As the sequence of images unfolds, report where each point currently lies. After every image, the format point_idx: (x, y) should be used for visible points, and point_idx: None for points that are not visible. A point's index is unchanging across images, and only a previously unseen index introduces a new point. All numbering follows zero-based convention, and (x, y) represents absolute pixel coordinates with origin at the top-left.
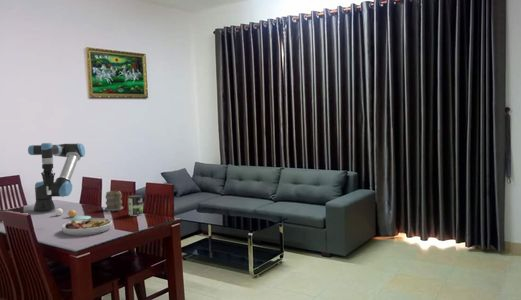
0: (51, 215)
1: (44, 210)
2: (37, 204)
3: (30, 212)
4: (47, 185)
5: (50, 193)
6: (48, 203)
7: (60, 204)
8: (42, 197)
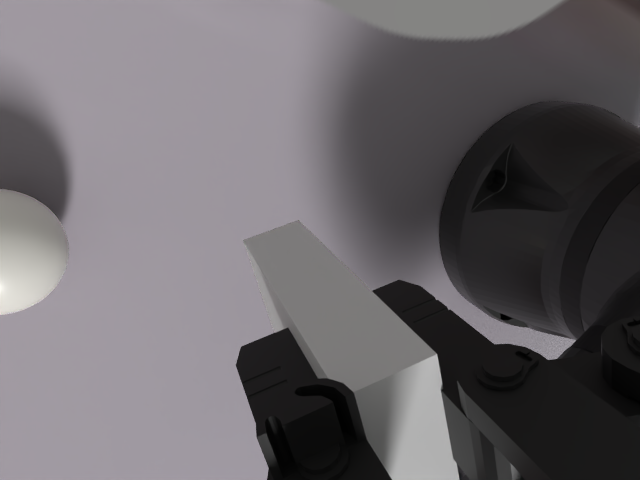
0: (117, 155)
1: (456, 184)
2: (584, 138)
3: (539, 41)
4: (464, 424)
5: (273, 322)
6: (511, 265)
7: None
8: (623, 225)
